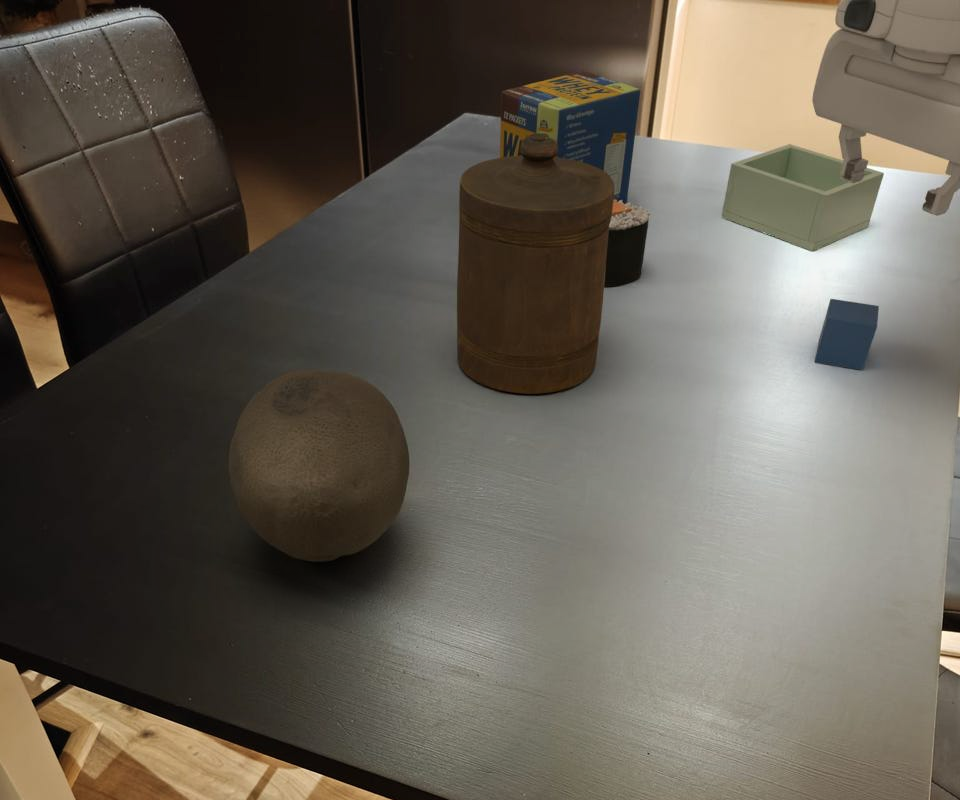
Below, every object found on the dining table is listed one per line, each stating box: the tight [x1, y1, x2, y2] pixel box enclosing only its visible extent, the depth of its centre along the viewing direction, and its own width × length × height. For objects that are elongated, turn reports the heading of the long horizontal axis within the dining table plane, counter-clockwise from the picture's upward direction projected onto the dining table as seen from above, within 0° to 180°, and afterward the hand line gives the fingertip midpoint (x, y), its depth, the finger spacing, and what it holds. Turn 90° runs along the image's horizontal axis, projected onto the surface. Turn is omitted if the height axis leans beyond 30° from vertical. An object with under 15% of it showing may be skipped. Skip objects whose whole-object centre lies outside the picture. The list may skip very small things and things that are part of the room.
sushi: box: [604, 199, 651, 288], centre depth 113 cm, size 8×8×8 cm
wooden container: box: [456, 133, 614, 395], centre depth 92 cm, size 15×15×22 cm
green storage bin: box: [721, 143, 885, 252], centre depth 126 cm, size 15×13×7 cm
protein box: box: [499, 70, 642, 204], centre depth 124 cm, size 10×15×16 cm
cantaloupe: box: [228, 368, 410, 563], centre depth 71 cm, size 14×14×15 cm
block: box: [814, 298, 880, 371], centre depth 100 cm, size 5×5×5 cm
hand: (890, 195), depth 85 cm, fingers open, 8 cm apart
